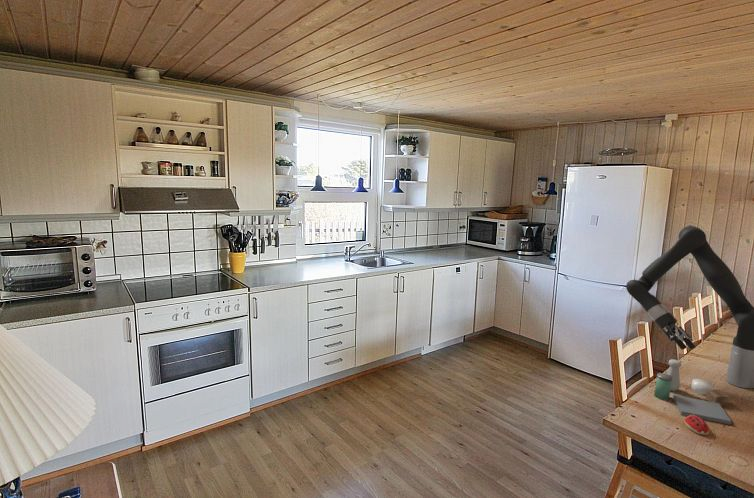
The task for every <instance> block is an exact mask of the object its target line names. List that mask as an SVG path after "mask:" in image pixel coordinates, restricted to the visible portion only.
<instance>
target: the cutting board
mask: <svg viewBox="0 0 754 498" xmlns="http://www.w3.org/2000/svg"><path fill="white" fill-rule="evenodd" d="M672 399H673V401H674V404H675V405H676V406H677V407H676V408H677V409H678V411H679V413H680V415H681V416H684V417H687V416H689V415H696V416H698V417H699V418H701V419H702V420H704V421H710V422H714V423H720V424H725V425H729V426H730V425H731V424H732V420H731V419H730V417H729V416H728V414H727V413H726V411H725V410H724V408H723V406H721V405H720V404H719V403H714V402H709V401H708V400H702V399H698V398H692V397H688V396H687V397H686V396H682V395H681V396H680V395H675V394H673V396H672Z"/></svg>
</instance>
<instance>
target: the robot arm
mask: <svg viewBox="0 0 754 498" xmlns="http://www.w3.org/2000/svg"><path fill="white" fill-rule="evenodd" d="M689 254H691V255H692V257H693V258H694V259H695V262H696V264H697V265H698V267H699V269H700V271H701V273H702V274H703V276H704V278H705V280H706V281H707V282H708V284H709V286H710V287H711V288H712V290H714V292H715V293H716V294H717V296H719V298H720V299H721V300H722V301H723V302H724V304H725V305H726V306H727V307H728V310H729V312H730V314H731V315H732V317H733V318H734V320H735V323H736V325H737V326H738V327H737V332H736V334H735V336H734V337H733V339H732V345H731V348H730V350H731V351H730V354H729V355H730V357H729V361H728V367H727V370H726V372H727V373H726V378H725V381H726V382H727V383H729V384H730V385H733V386H736V387H739V388H743V389H754V306H753V305H752V304H751V302H750V301H749V300H748V299H747V297H746V296H745V294H744V291H743V289H742V287H741V285H740V283H739V281H738V279H737V278H736V276H735V275H734V273H733V272H732V270H731V268H729V266H728V265H727V264H726V263H725V262H724V261H723V259H722V258H720V256H719V255H718V254H717V253H716V252H715V251H714V249H712V247H711V246H710V244H709V242H708V240H707V235H706V232H704V231H703V230H702V229H701V228H700V227H697V226H695V225H694V226H693V225H692V226H691V225H689V226H685V227H683V228H682V229H681V230H680V231H679V233H678V239H677V241H676V242H675V244H673V246H672V247H671V248H670V249H668V250H667V251H666V252H665V253H663V254H661V255H660V256H659V257H657V258H656V259H654V261H652V262H651V263H650V264H649V265H648V266H647V267H646V268H645V269H644V270H643V271H642V275H641V276H640V277H639V279H631V280H628V282H627V283H626V285H625V288H626V291H627V292H628V294H629V295H630V296H631V297H632V298H633V299H634V300H636V302H638V303H639V304H640V305H641V306H642V308H643V309H644V310H645V312H646V313H647V314H648V316H649V318H651V320H652V321H653V322H654V323H655V324H656V326H657V327H658V328H659V329H660V330H661V331H663V333H664V334H665V335H666V337H667V338H668V339H669V340H670V341H671V342H674V343H675V344H676V345H677V346H678V348H679V349H681V350H685V349H687V348H688V349H690V350H693V349H695V348H696V345H695V344H694V342H692V340H691V338H692V337H691V336H690V334H689V333H688V332H687V331H685V329H684V328H683V327H682V326H677V325H676V324H677V323H678V320H677V318H676V317H675V316H674V315H673V314H672V313H671V311H670V310H668V308H667V307H666V306H665V305H664V304H663V303H662V302H661V301H660V300H659V299H658V298H657V297H656V296H655V295H653V294H652V293H650V290H651V289H652V288H653V287H654V286H655V284H656V282H657V281H659V280H660V279H661V278H662V277H663V276H665V275H666V274H667V273H668V272H669V271H670V270H671V269H672V268H673V267H674V266H675V265H677V264H678V263H679V262H680V261H681V260H683V259H684V258H686V257H687V256H688V255H689Z"/></svg>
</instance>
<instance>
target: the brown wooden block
mask: <svg viewBox="0 0 754 498" xmlns="http://www.w3.org/2000/svg"><path fill="white" fill-rule="evenodd" d="M705 400H706V401H709V402H714V403H719V404H720V405H721V407H728V406H729V402H730V396H729V395H727V394H726V393H725V392H723V391H721V390H715V389H713V390H707V394H706V396H705Z"/></svg>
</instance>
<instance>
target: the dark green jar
mask: <svg viewBox="0 0 754 498" xmlns="http://www.w3.org/2000/svg"><path fill="white" fill-rule="evenodd" d="M671 383H672V376H670V375H668V374H667V373H664V372H658V373H657V374H656V381H655V389H654V394H653V395H654V397H655V398H657V399H660V400H661V401H668V400H669V399H670V396H671V395H670V394H671V391H670V389H671Z"/></svg>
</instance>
